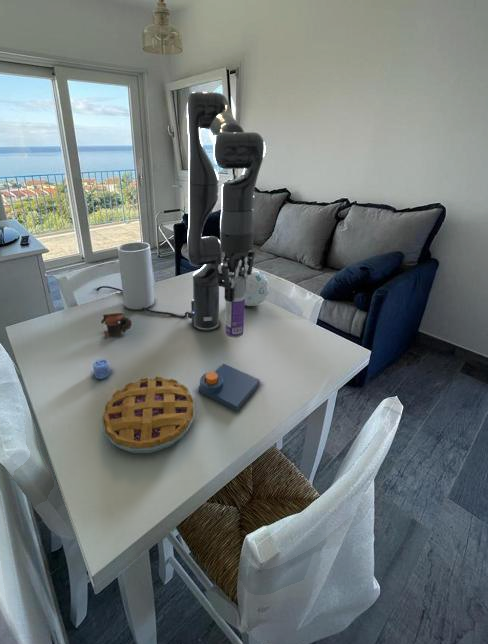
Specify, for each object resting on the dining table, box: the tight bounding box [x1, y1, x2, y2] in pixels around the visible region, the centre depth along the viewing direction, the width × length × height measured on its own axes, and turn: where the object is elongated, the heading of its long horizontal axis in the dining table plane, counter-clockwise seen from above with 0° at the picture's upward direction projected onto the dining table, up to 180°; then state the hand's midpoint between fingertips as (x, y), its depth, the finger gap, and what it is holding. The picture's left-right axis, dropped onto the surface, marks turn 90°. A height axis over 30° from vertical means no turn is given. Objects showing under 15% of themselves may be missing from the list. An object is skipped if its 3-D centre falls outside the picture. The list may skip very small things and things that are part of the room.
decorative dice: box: [92, 358, 110, 380], centre depth 92 cm, size 4×4×4 cm
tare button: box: [206, 371, 218, 385], centre depth 85 cm, size 3×3×2 cm
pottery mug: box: [100, 312, 132, 338], centre depth 113 cm, size 12×10×8 cm
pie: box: [101, 376, 196, 454], centre depth 76 cm, size 22×22×5 cm
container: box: [224, 276, 246, 339], centre depth 79 cm, size 5×5×15 cm
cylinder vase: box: [117, 241, 155, 311], centre depth 129 cm, size 12×12×25 cm
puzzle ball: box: [244, 268, 270, 307], centre depth 130 cm, size 15×15×15 cm
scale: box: [198, 363, 261, 412], centre depth 86 cm, size 12×12×4 cm
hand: (235, 296), depth 78 cm, fingers closed on container, 4 cm apart
